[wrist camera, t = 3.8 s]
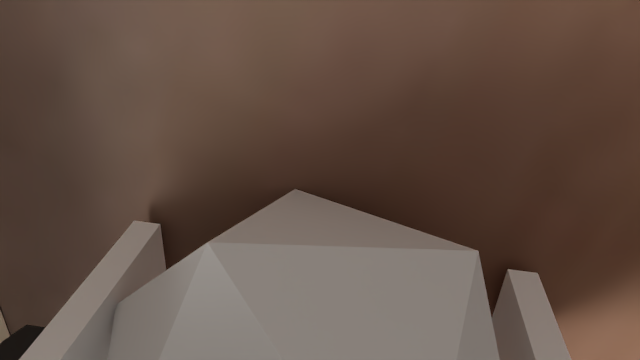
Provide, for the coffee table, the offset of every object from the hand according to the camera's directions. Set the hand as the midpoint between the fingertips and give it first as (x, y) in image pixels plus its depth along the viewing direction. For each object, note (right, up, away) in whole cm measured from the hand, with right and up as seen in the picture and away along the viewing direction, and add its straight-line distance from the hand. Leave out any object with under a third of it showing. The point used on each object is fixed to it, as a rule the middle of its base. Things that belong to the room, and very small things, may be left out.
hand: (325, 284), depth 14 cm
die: (0, 0, +1) cm, 1 cm away
